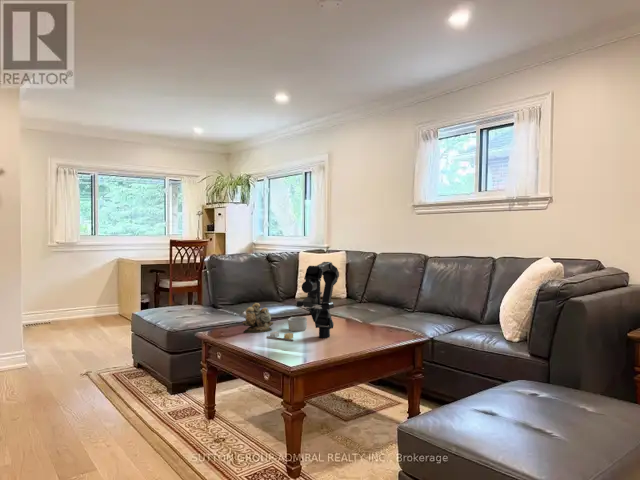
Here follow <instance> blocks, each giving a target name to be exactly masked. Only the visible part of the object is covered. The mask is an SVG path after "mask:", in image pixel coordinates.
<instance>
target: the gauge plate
mask: <svg viewBox="0 0 640 480" xmlns="http://www.w3.org/2000/svg"><path fill="white" fill-rule="evenodd" d="M266 339H271V340H279V341H287V342H294V339H293V338H292V339H286V338H284V337H279V336H278V337H270V335H267V336H266Z"/></svg>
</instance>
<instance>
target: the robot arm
mask: <svg viewBox="0 0 640 480" xmlns="http://www.w3.org/2000/svg"><path fill="white" fill-rule="evenodd" d="M339 277H340V271H339V269H338V267H337V266H335V265H334V264H333V262H331V261H323V262H321V263H319V264H317V265H308V267H307V268H306V271H305V274H304V280H305V281H303V283H302V284H301V290H302V291H303V292H304V293H305V294H307V296H306V297H305V298H304V299H301V300H296V301H297V302H296V304H295V307H298V308H302V307H303V308H306V310H308V311H309V313H310V315H311V319H312V321H313V322H314V325H315V328H316V329H318V338H319V339H327V338H330V336H331V334H330V333H331V332H330V331H331V329H334V324H335V323H334V321H333V319H332V314H331V312H330V310H332V309H334V308H335V307H334V306H335V305H334V303H333V301H332V296H333V290H334V286H335V285H336V283H338V279H339ZM322 279H323V281H324V287H323V288H324V289H323V294H322V291H321V281H322ZM321 295H322V299H321Z"/></svg>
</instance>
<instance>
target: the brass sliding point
mask: <svg viewBox="0 0 640 480" xmlns="http://www.w3.org/2000/svg"><path fill="white" fill-rule="evenodd" d="M283 338H286V339H293V338H294V333H291V332H287V333H284V335H283Z"/></svg>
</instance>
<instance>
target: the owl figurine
mask: <svg viewBox="0 0 640 480" xmlns="http://www.w3.org/2000/svg"><path fill="white" fill-rule="evenodd" d="M260 308H261V304H260V303H259V302H254V303H253V304H252V306H249V307H246V309H245V320H244V321H242V324H243V326H245V327H248V328H246V329H245V330H243V334H246V333H248V334H259V333H260V334H261V333H267V332H272V331H273V328H272V327H271V326H272V325H274V322H273V321H271V319H272V316H271V312H269V309H268V307H262V308H261V309H260Z"/></svg>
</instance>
